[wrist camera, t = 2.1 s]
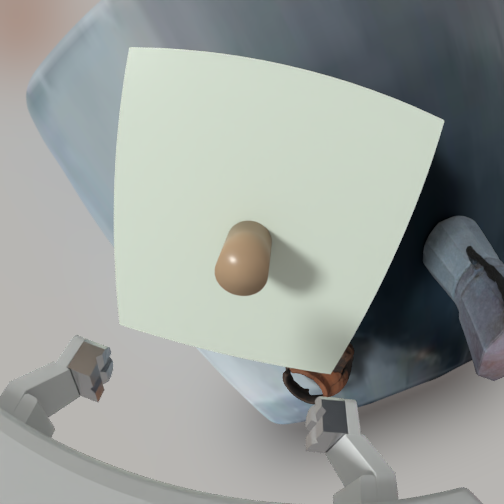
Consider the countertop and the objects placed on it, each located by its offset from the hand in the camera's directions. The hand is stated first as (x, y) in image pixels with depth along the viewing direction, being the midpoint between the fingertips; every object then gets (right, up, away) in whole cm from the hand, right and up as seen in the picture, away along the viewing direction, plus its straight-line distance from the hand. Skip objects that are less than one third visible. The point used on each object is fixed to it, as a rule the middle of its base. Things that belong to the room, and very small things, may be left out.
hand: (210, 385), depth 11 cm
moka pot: (+26, +6, +22) cm, 35 cm away
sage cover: (+3, +12, +21) cm, 24 cm away
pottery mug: (+14, -9, +33) cm, 37 cm away
